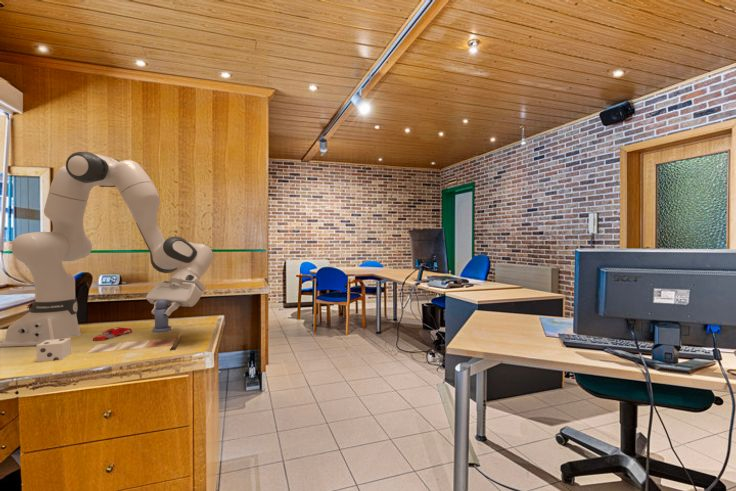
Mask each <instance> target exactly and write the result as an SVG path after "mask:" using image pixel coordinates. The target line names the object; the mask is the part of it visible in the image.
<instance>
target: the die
mask: <svg viewBox="0 0 736 491" xmlns="http://www.w3.org/2000/svg"><path fill="white" fill-rule="evenodd" d="M35 346H36V363H38V362H51V361H59V360H60V361H61V360H64V359H65V358H67V357H68V356H69V355H71V354H72V338H71V337H67V338H62V339H53V340H46V341H44V342H42V343H40V344H38V345H35Z"/></svg>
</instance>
